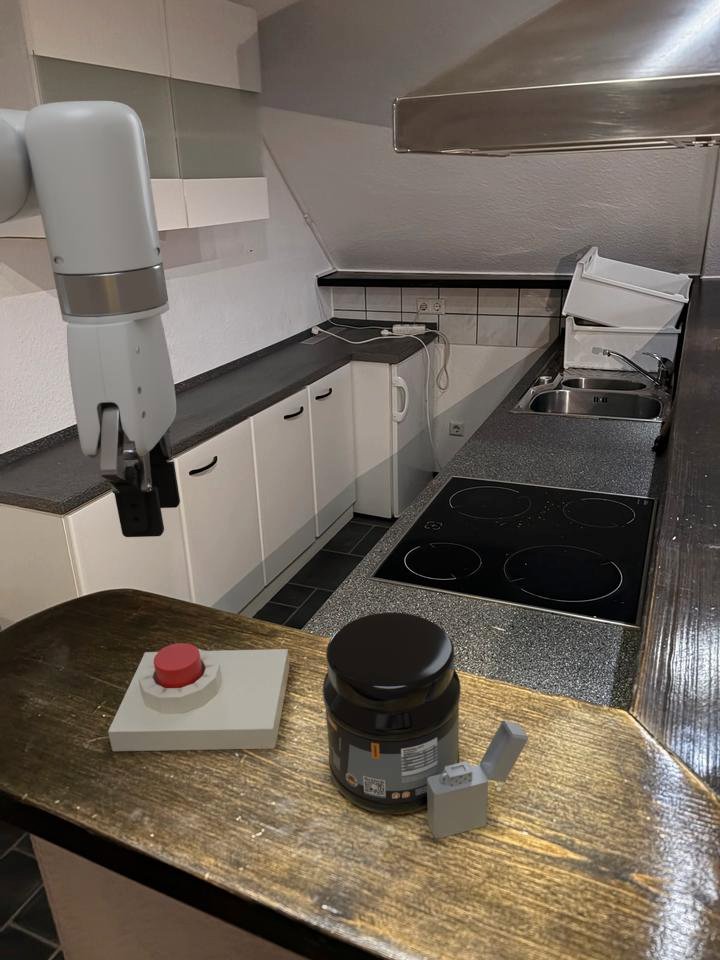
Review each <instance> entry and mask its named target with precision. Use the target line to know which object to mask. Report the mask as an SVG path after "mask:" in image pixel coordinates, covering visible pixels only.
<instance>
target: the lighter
mask: <svg viewBox="0 0 720 960" xmlns="http://www.w3.org/2000/svg"><path fill="white" fill-rule="evenodd" d="M528 741H529V737H528V734H527V733H526V731H525V730H524V729H523V727H522V725H521V724H520V723H519V722H513V721H508V720H501V722H500V723H499V726H498V728H497V730H496V731H495V734H494V735H493V737H492V739H491V741H490V742H489V745H488V747H487V749H486V750H485V752H484V754H483V756H482V758H481V760H480V762H479V764H474V765H470V764H469V762H468V761H467V760H466V761H461V762H459V763H457V764H453V765H449V766H445V770H444V771H443V772H442V774H439V775H435V776H431V777H428V779H427V807H426V809H427V825H428V827H429V829H430V831H431V833H432V837H433V838H434V839H436V840H439V839H443V838H446V837H450V836H454V835H458V834H462V833H465V832H468V831H472V830H477V829H479V828H483V827H486V826H487V824H488V802H489V801H488V797H489V781H493V782H501V783H505V782H506V781H507V779H508V777H509V775H510V773H511V771H512V769H513V768H514V766H515V765H516V762H517V761H518V759H519V757H520V755H521V753H522V752H523V749H524V748H525V746H526V744H527V742H528Z"/></svg>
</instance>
